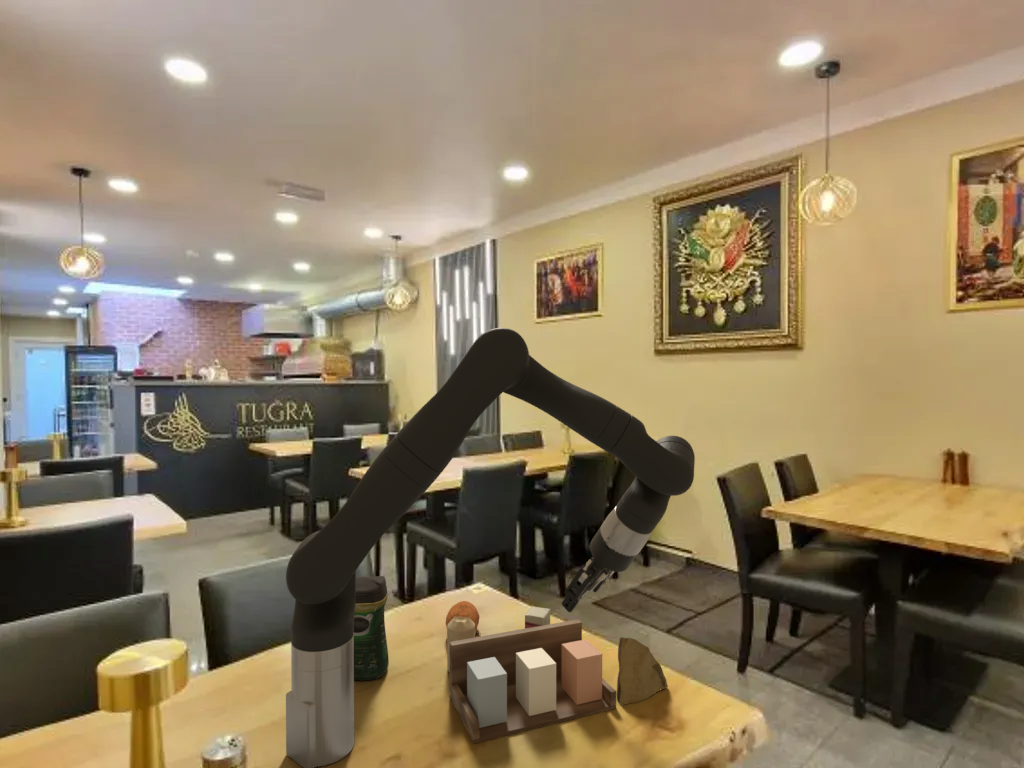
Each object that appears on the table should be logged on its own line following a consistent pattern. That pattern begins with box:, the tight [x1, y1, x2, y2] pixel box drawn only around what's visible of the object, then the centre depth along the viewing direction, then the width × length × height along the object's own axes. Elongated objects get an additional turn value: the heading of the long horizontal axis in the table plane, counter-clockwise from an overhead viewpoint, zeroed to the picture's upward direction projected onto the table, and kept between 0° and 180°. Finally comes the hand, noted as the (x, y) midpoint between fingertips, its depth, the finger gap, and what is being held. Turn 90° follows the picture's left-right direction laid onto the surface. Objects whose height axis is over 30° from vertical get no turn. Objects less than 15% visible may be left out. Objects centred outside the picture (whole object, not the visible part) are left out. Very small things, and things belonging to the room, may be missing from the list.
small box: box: [524, 605, 551, 629], centre depth 122 cm, size 5×4×8 cm
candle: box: [446, 616, 476, 673], centre depth 114 cm, size 6×6×10 cm
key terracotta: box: [562, 639, 603, 705], centre depth 104 cm, size 6×5×8 cm
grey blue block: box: [467, 657, 507, 728], centre depth 97 cm, size 6×5×8 cm
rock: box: [616, 637, 669, 707], centre depth 105 cm, size 11×9×10 cm
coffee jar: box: [354, 575, 389, 681], centre depth 113 cm, size 10×8×19 cm
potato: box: [445, 600, 480, 634], centre depth 129 cm, size 7×13×7 cm, turn 176°
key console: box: [449, 618, 617, 744], centre depth 102 cm, size 14×26×10 cm, turn 112°
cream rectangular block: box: [516, 648, 556, 716], centre depth 101 cm, size 6×5×8 cm
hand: (579, 597), depth 105 cm, fingers open, 8 cm apart
